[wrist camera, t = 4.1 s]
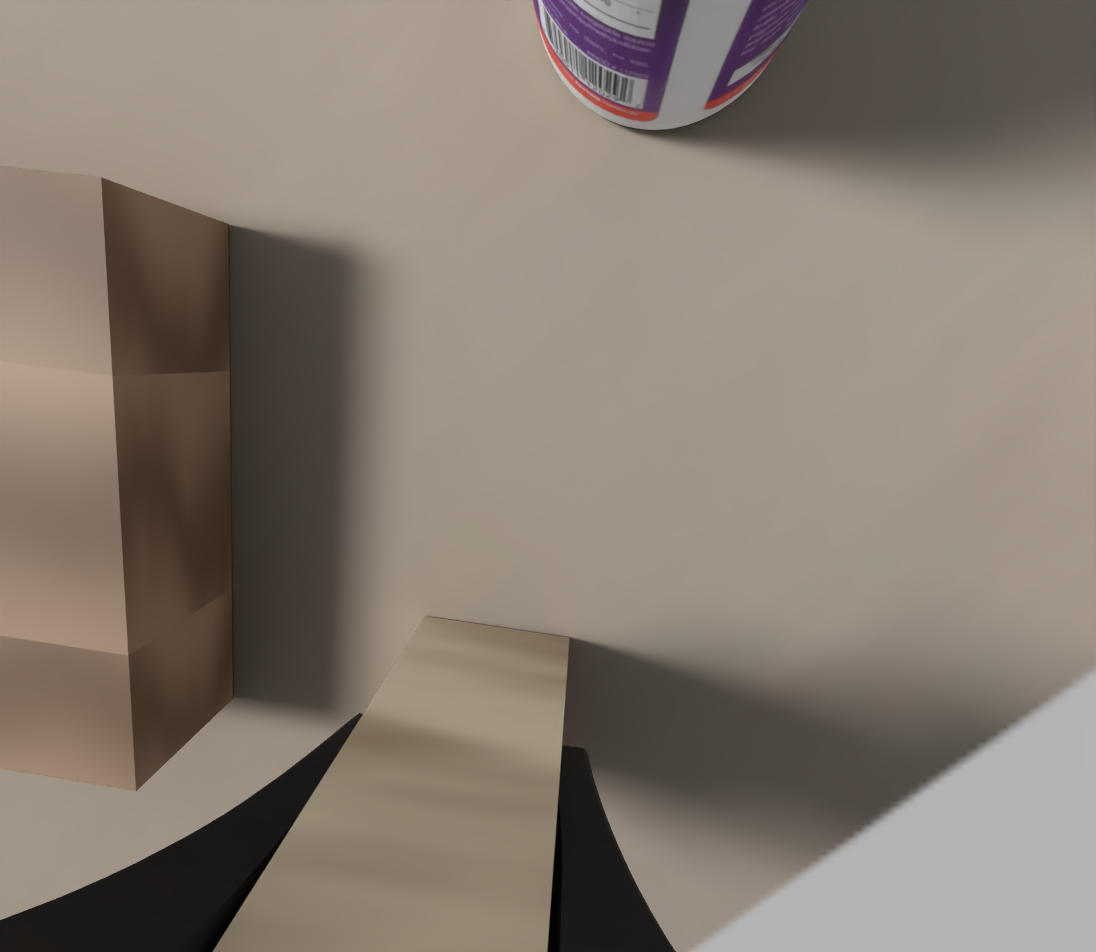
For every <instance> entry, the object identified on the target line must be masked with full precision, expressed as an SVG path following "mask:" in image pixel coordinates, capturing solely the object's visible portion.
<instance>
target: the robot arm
mask: <svg viewBox="0 0 1096 952" xmlns="http://www.w3.org/2000/svg"><path fill="white" fill-rule="evenodd" d="M362 715H363V714H361V713H359V714H358V715H356V716H355V717H354V718H352V719H351V720H350V721H349V722H347V723H346V724H345V725H344V726H343V727H341V728H340V729H339V730H338V731H336V732H335V733H334V734H333V735H332V736H330V737H329V738H328V739H327V740H325V741H324V742H323V743H322V744H320V745H319V746H318V747H317V748H316V749H314V750H313V751H312V752H311V753H309V754H308V755H307V756H305V757H304V758H303V759H301V760H300V761H299V762H298V763H296V764H295V765H294V766H292V767H291V768H290V769H289V770H287V771H286V772H285V773H283V774H282V775H281V776H279V777H278V778H276V779H275V780H274V781H272V782H271V783H269V784H268V785H267V786H265V787H264V788H262V789H261V790H260V791H258V792H257V793H255V794H254V795H252V796H251V797H250V798H248V799H247V800H245V801H244V802H242V803H241V804H239V805H238V806H236V807H235V808H233V809H232V810H230V811H229V812H227V813H225V814H224V815H222V816H221V817H219V818H217V819H216V820H214V821H212V822H211V823H209V824H207V825H206V826H204V827H202V828H201V829H199V830H197V831H195V832H194V833H192V834H190V835H188V836H187V837H185V838H183V839H181V840H179V841H177V842H175V843H173V844H171V845H170V846H168V847H166V848H164V849H162V850H160V851H158V852H156V853H154V854H152V855H151V856H149V857H147V858H145V859H143V860H141V861H139V862H137V863H135V864H133V865H131V866H129V867H127V868H125V869H123V870H120V871H118V872H116V873H114V874H112V875H110V876H108V877H106V878H103V879H101V880H99V881H96V882H94V883H92V884H90V885H87V886H85V887H83V888H81V889H78V890H76V891H74V892H71V893H69V894H67V895H64V896H62V897H59V898H57V899H55V900H52V901H49V902H47V903H44V904H41V905H39V906H36V907H34V908H31V909H28V910H26V911H23V912H21V913H18V914H15V915H13V916H10V917H8V918H5V919H2V920H0V952H213V950H214V949H215V947H216V946H217V944H218V942H219V941H220V939H221V938H222V936H223V935H224V933H225V931H226V930H227V928H228V927H229V925H230V924H231V922H232V920H233V919H234V917H235V916H236V914H237V912H238V911H239V909H240V908H241V906H242V905H243V903H244V901H245V900H246V898H247V897H248V895H249V894H250V892H251V890H252V889H253V887H254V886H255V884H256V882H257V881H258V879H259V878H260V876H261V875H262V873H263V871H264V870H265V868H266V867H267V865H268V864H269V862H270V860H271V859H272V857H273V856H274V854H275V852H276V851H277V849H278V848H279V846H280V845H281V843H282V841H283V840H284V838H285V837H286V835H287V834H288V832H289V830H290V829H291V827H292V826H293V824H294V822H295V821H296V819H297V818H298V816H299V815H300V813H301V811H302V810H303V808H304V807H305V805H306V804H307V802H308V800H309V799H310V797H311V796H312V794H313V792H314V791H315V789H316V788H317V786H318V785H319V783H320V781H321V780H322V778H323V777H324V775H325V774H326V772H327V770H328V769H329V767H330V766H331V764H332V762H333V761H334V759H335V758H336V756H337V755H338V753H339V751H340V750H341V748H342V747H343V745H344V744H345V742H346V740H347V739H348V737H349V736H350V734H351V732H352V731H353V729H354V728H355V726H356V725H357V723H358V721H359V720H360V718H361V717H362ZM547 952H675V950H674V949H673V947H672V946H671V944H670V943H669V941H668V939H667V938H666V936H665V935H664V933H663V931H662V929H661V928H660V926H659V924H658V923H657V921H656V919H655V918H654V916H653V914H652V912H651V911H650V909H649V907H648V905H647V903H646V901H645V900H644V898H643V896H642V894H641V892H640V890H639V888H638V887H637V885H636V883H635V881H634V879H633V877H632V875H631V872H630V870H629V868H628V866H627V864H626V862H625V860H624V857H623V855H622V853H621V851H620V849H619V846H618V844H617V842H616V839H615V837H614V835H613V832H612V830H611V827H610V824H609V822H608V819H607V817H606V814H605V811H604V809H603V806H602V803H601V800H600V797H599V794H598V791H597V788H596V785H595V782H594V778H593V775H592V771H591V767H590V762H589V757H588V753H587V752H586V751H585V749H583V748H576V747H570V746H564V745H562V751H561V766H560V780H559V794H558V808H557V822H556V836H555V850H554V864H553V878H552V892H551V906H550V921H549V935H548V949H547Z"/></svg>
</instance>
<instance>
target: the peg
mask: <svg viewBox="0 0 1096 952" xmlns="http://www.w3.org/2000/svg"><path fill="white" fill-rule="evenodd" d="M569 639H570V637H563V636H556V635H549V634H543V633H536V632H529V631H522V630H516V629H509V628H502V627H495V626H489V625H482V624H475V623H468V622H462V621H455V620H448V619H441V618H435V617H428V616H425V617H424V619H423V620H422V622H421V624H420V625H419V627H418V628H417V630H416V631H415V633H414V635H413V636H412V638H411V639H410V641H409V642H408V644H407V646H406V647H405V649H404V650H403V652H402V654H401V655H400V657H399V658H398V660H397V661H396V663H395V665H394V666H393V668H392V669H391V671H390V672H389V674H388V676H387V677H386V679H385V680H384V682H383V684H382V685H381V687H380V688H379V690H378V691H377V693H376V695H375V696H374V698H373V699H372V701H371V702H370V704H369V706H368V707H367V709H366V710H365V712H364V714H363V715H362V717H361V718H360V720H359V721H358V723H357V725H356V726H355V728H354V729H353V731H352V732H351V734H350V736H349V737H348V739H347V740H346V742H345V744H344V745H343V747H342V748H341V750H340V751H339V753H338V755H337V756H336V758H335V759H334V761H333V762H332V764H331V766H330V767H329V769H328V770H327V772H326V774H325V775H324V777H323V778H322V780H321V781H320V783H319V785H318V786H317V788H316V789H315V791H314V792H313V794H312V796H311V797H310V799H309V800H308V802H307V804H306V805H305V807H304V808H303V810H302V811H301V813H300V815H299V816H298V818H297V819H296V821H295V822H294V824H293V826H292V827H291V829H290V830H289V832H288V834H287V835H286V837H285V838H284V840H283V841H282V843H281V845H280V846H279V848H278V849H277V851H276V852H275V854H274V856H273V857H272V859H271V860H270V862H269V864H268V865H267V867H266V868H265V870H264V871H263V873H262V875H261V876H260V878H259V879H258V881H257V882H256V884H255V886H254V887H253V889H252V890H251V892H250V894H249V895H248V897H247V898H246V900H245V901H244V903H243V905H242V906H241V908H240V909H239V911H238V912H237V914H236V916H235V917H234V919H233V920H232V922H231V924H230V925H229V927H228V928H227V930H226V931H225V933H224V935H223V936H222V938H221V939H220V941H219V942H218V944H217V946H216V947H215V949H214V950H213V952H547V949H548V935H549V921H550V906H551V892H552V878H553V864H554V850H555V836H556V822H557V808H558V794H559V780H560V766H561V751H562V737H563V723H564V709H565V695H566V681H567V667H568V653H569Z"/></svg>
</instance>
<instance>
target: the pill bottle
mask: <svg viewBox="0 0 1096 952" xmlns="http://www.w3.org/2000/svg"><path fill="white" fill-rule="evenodd" d="M807 2H808V0H533V4H534V9H535V13H536V17H537V22H538V26H539V30H540V34H541V38H542V40H543V43H544V46H545V49H546V51H547V53H548V56H549V58H550V60H551V62H552V64H553V66H554V68H555V70H556V71H557V73H558V75H559V76H560V78H561V79H562V81H563V82H564V83H565V85H566V86H567V87H568V89H569V90H570V91H571V92H572V93H573V94H574V95H575V96H576V97H577V98H578V99H579V100H580V101H581V102H582V103H583V104H584V105H585V106H587V107H588V108H589V109H591V110H592V111H593V112H595V113H596V114H598V115H600V116H602V117H604V118H605V119H608V120H610V121H612V122H615V123H617V124H620V125H623V126H627V127H632V128H638V129H647V130H661V129H672V128H677V127H682V126H686V125H689V124H692V123H694V122H697V121H700V120H702V119H704V118H706V117H708V116H710V115H712V114H714V113H716V112H718V111H719V110H721V109H723V108H724V107H725V106H727V105H728V104H730V103H731V102H733V101H734V100H735V99H736V98H738V97H739V96H740V95H741V94H742V93H743V92H744V91H746V90H747V89H748V88H749V87H750V86H751V85H752V84H753V82H754V81H755V80H756V79H757V78H758V77H759V76H760V75H761V73H762V72H763V71H764V69H765V68H766V66H767V65H768V64H769V62H770V61H771V60H772V58H773V57H774V55H775V54H776V52H777V51H778V49H779V48H780V46H781V45H782V43H783V42H784V40H785V39H786V37H787V35H788V34H789V32H790V30H791V29H792V27H793V26H794V24H795V22H796V20H797V19H798V17H799V15H800V14H801V12H802V10H803V9H804V7H805V5H806V4H807Z"/></svg>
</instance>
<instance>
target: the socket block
mask: <svg viewBox="0 0 1096 952" xmlns="http://www.w3.org/2000/svg"><path fill="white" fill-rule="evenodd" d="M232 699H233V658H232V552H231V447H230V342H229V236H228V224H226V223H224V222H221V221H218V220H216V219H213V218H210V217H207V216H205V215H202V214H199V213H197V212H194V211H191V210H188V209H186V208H183V207H180V206H177V205H175V204H172V203H169V202H167V201H164V200H161V199H158V198H156V197H153V196H150V195H148V194H145V193H142V192H139V191H137V190H134V189H131V188H128V187H126V186H123V185H120V184H118V183H115V182H112V181H109V180H107V179H104V178H101V177H93V176H84V175H75V174H66V173H57V172H49V171H40V170H31V169H22V168H13V167H4V166H0V769H6V770H12V771H18V772H24V773H30V774H36V775H42V776H48V777H54V778H60V779H66V780H72V781H77V782H83V783H89V784H95V785H101V786H107V787H113V788H119V789H125V790H131V791H137V790H138V789H139V788H140V787H141V786H142V785H143V784H144V783H145V782H146V781H147V780H148V779H149V778H150V777H151V776H152V775H154V774H155V773H156V772H157V771H158V770H159V769H160V768H161V767H162V766H163V765H164V764H165V763H166V762H167V761H168V760H169V759H170V758H171V757H172V756H173V755H174V754H175V753H176V752H178V751H179V750H180V749H181V748H182V747H183V746H184V745H185V744H186V743H187V742H188V741H189V740H190V739H191V738H192V737H193V736H194V735H195V734H196V733H197V732H198V731H199V730H200V729H202V728H203V727H204V726H205V725H206V724H207V723H208V722H209V721H210V720H211V719H212V718H213V717H214V716H215V715H216V714H217V713H218V712H219V711H220V710H221V709H222V708H223V707H225V706H226V705H227V704H228V703H229V702H230V701H231V700H232Z"/></svg>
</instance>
